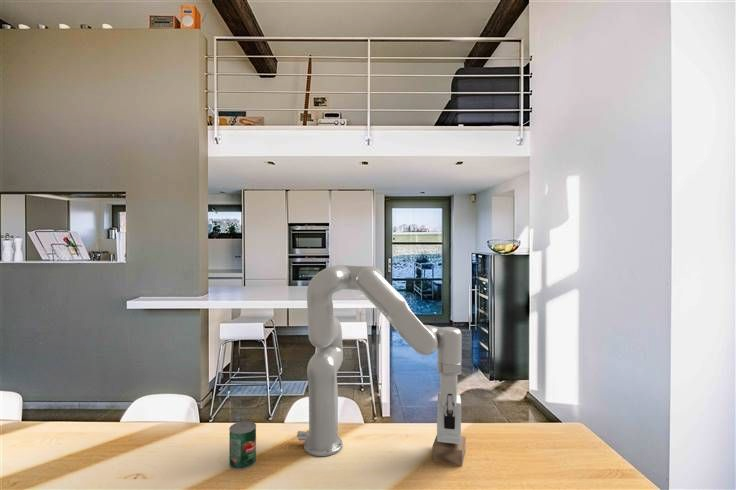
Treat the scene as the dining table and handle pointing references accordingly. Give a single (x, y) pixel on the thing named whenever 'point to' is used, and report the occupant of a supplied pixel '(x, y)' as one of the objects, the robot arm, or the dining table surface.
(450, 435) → the supplement box
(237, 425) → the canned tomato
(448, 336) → the robot arm
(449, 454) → the walnut block
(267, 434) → the dining table surface
